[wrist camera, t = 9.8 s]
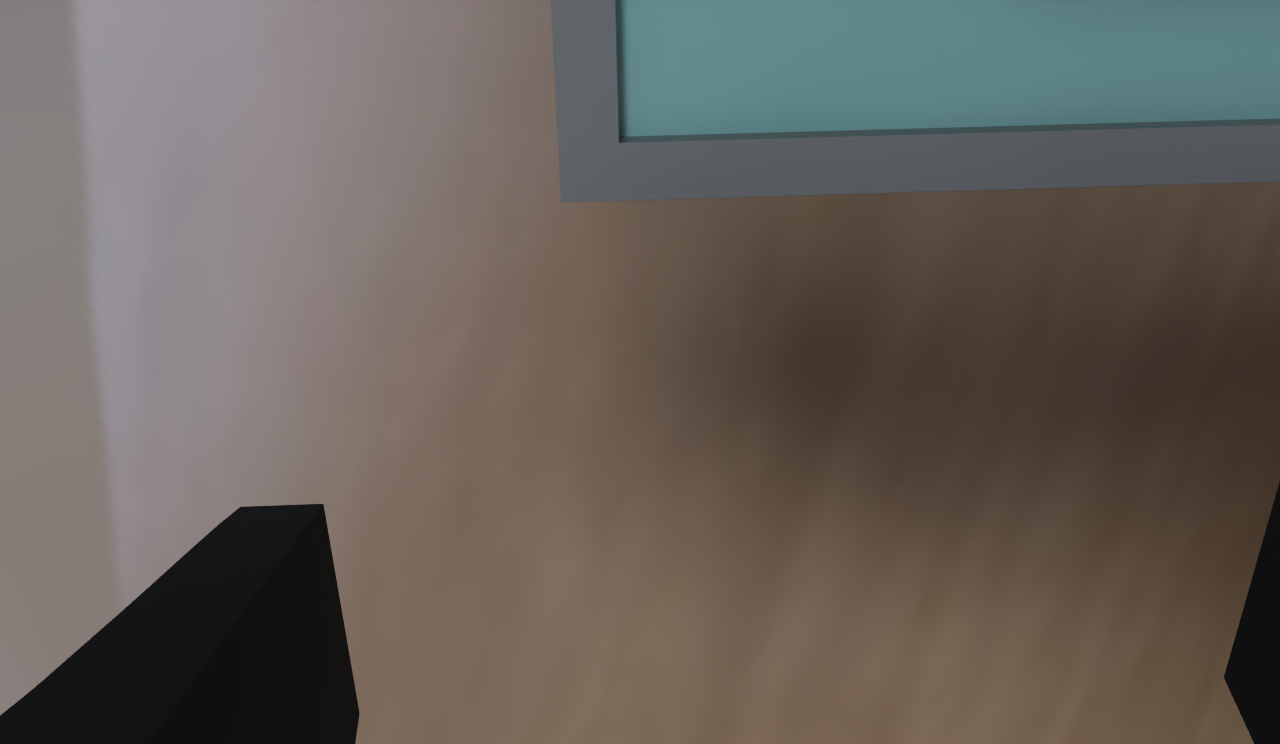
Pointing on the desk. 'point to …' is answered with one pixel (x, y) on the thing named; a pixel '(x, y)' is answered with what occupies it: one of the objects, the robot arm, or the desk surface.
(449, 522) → the desk surface
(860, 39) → the socket box
